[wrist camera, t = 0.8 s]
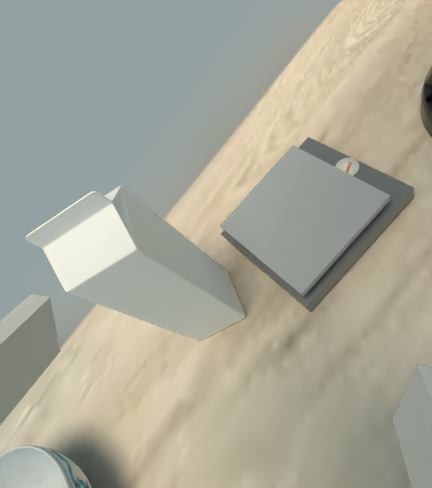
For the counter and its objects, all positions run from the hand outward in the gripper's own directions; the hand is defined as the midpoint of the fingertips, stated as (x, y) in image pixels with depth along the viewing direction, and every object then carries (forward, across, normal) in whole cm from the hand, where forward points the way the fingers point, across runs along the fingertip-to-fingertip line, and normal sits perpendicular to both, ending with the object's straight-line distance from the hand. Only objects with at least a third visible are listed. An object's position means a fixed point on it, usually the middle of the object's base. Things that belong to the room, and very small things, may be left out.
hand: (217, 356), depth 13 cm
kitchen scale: (+27, +5, -6) cm, 28 cm away
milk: (+22, -4, -15) cm, 27 cm away
